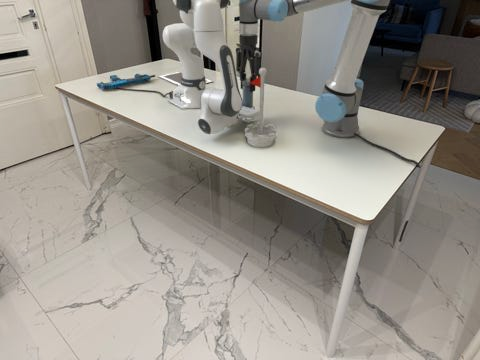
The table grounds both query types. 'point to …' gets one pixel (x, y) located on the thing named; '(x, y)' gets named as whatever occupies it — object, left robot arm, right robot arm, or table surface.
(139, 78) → the submachine gun
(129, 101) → the table surface
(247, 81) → the lid
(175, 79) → the tablet
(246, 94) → the jar
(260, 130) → the flag stand
